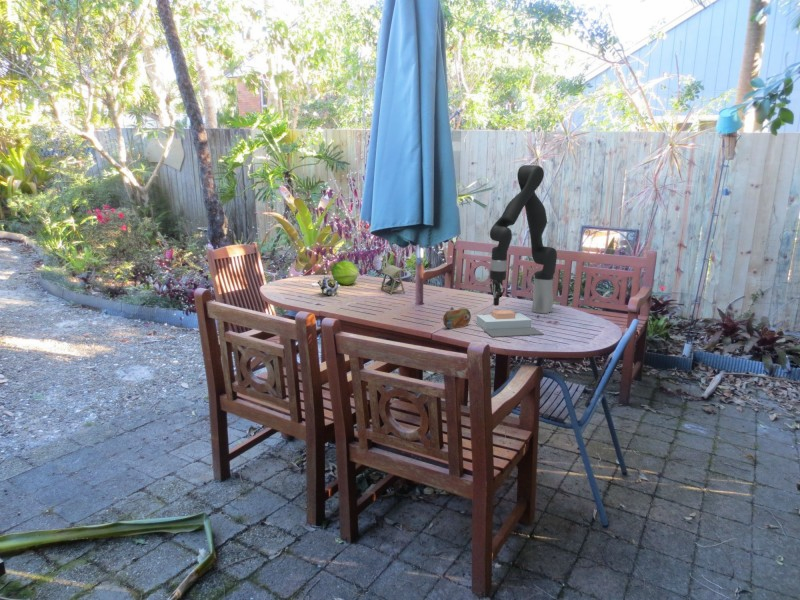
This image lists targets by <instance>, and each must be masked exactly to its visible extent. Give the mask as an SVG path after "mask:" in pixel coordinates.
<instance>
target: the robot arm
mask: <svg viewBox="0 0 800 600" xmlns="http://www.w3.org/2000/svg"><path fill="white" fill-rule="evenodd" d="M544 175H545V172H544V168H542V166H540V165H531V164H530V165H528V164H527V165H526V164H525V165H521V166H520V167H519V168H518V170H517V175H516V176H517V182H518V186H519V189H520V192H519V193H518V194H516V196H514V197H513V198H512V199H511V200H510V201H509V202H508V203H507V205H506V207H505V209H504V210H503V213H502V214H501V216H500V217H499V218H498V219H497V221H495V223H494V224H493V225H492V227H490V228H491V229H490V231H489V237H490V239H491V240H492V241H493V242H498V244H497V246H494V247H493V248H492V250H491V258H490V259H491V261H490V268H489V279H490V280H491V281H492V283H490V284H489V288H490V291H491V292H490V293H491V296H492V297H493V302H492V303H493V304H492V305H493V306H495V307H496V306H499V305H500V299H501V298H502V297H503V295H504V292H505V291H506V289H505V288H504V287H503V286H504V283H503V281H506V279H507V269H508V267H507V265H508V261H507V259H508V250H509V247H510V244H511V242H512V238H513V234H512V233H513V232H512V230H511V228H509V227H511V226H514V225H515V224H516V222H517V221H518V218H519V216H520V214H521V212H522V211H523V209H525V213H526V214H525V215H526V220H527V221H526V222H527V225H528V230H529V235H530V236H529V237H530V247H531V256H532V260H533V262H534V263H535V264H536V265H542V266H543V267H542V269H541V270H538V271H535V272H534V279H533V291H532V294H533V295H532V305H531V311H532V312H534V313H537V314H548V313H549V312H550V313H553V305H554V303H553V302H554V293H553V285H554V283H553V282H554V276H555V273H556V269H557V268H556V266H557V259H558V253H557V249H556V248H555V247H550V246H544V244H543V234H544V231H545V230H546V227H547V224H548V217H547V211H546V207H545V206H544V204H543V202H542V201H541V199H540V198H539V197H538V195H537V194H536V190H537V189H538V188H539V186H541V184H542V182H543V180H544V177H545V176H544ZM550 313H549V314H550Z"/></svg>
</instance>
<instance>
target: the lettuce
mask: <svg viewBox="0 0 800 600" xmlns="http://www.w3.org/2000/svg"><path fill="white" fill-rule="evenodd" d="M359 273H360V272H359V269H358V267H357V265H356V264H354V263H353V262H352V261H348V260H346V261H345V260H341V261H339V262H336V263H334V264H333V265H332V268H331V277H332V279H333V280H334V279H335V281H337V284H339V285H343V286H348V285H349V286H350V285H352V284H354V283H355V282H356V280H357V279H358V277H359Z"/></svg>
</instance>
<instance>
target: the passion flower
mask: <svg viewBox="0 0 800 600" xmlns="http://www.w3.org/2000/svg"><path fill="white" fill-rule="evenodd" d="M317 284H318V285H319V287H320V290H321V293H322V294H324V292H325V293H326V294H327V295H328V296H330V295H331V296H332V297H334V296H335V293H337V294H338V293H339V289H338V288H340V287H341V284H339V283H338V282H337V281H335V279H334V278H333V276H331V277H329V276H327V275H324V276H323V279H322V280H321V279H319V280H318V281H317Z"/></svg>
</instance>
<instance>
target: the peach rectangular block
mask: <svg viewBox="0 0 800 600" xmlns="http://www.w3.org/2000/svg"><path fill="white" fill-rule="evenodd" d="M491 314H492V316H493V317H494V318H495V319H514V318H515V311H513V310H511V309H499V310H491Z"/></svg>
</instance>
